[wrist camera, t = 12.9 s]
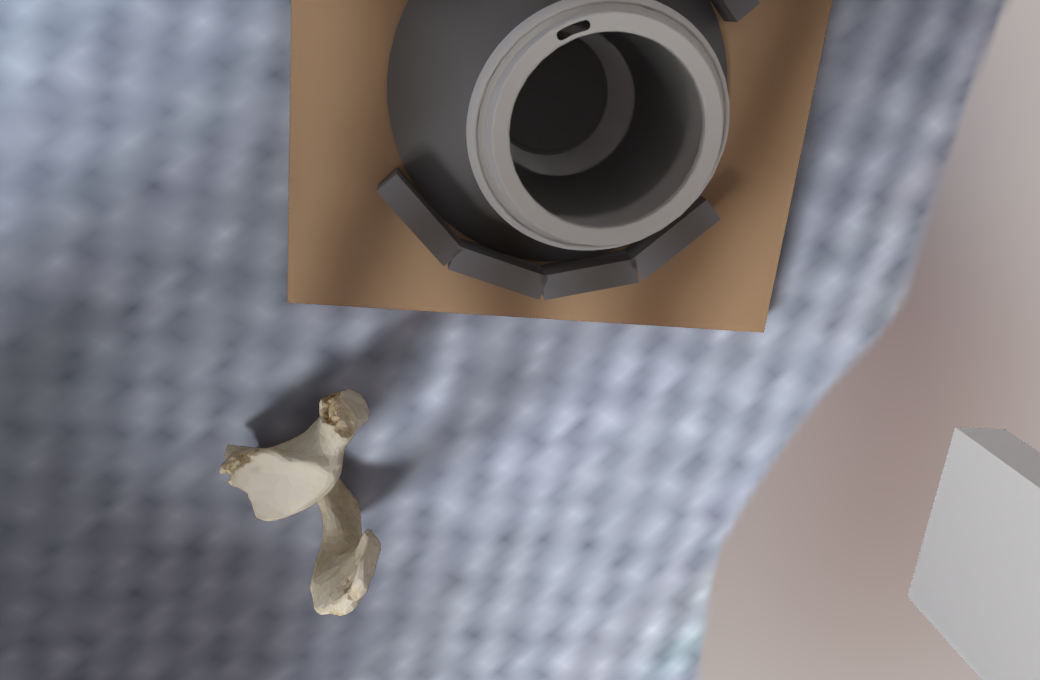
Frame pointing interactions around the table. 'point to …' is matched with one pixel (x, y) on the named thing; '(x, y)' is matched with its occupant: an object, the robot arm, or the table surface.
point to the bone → (315, 497)
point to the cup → (597, 122)
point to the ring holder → (464, 209)
